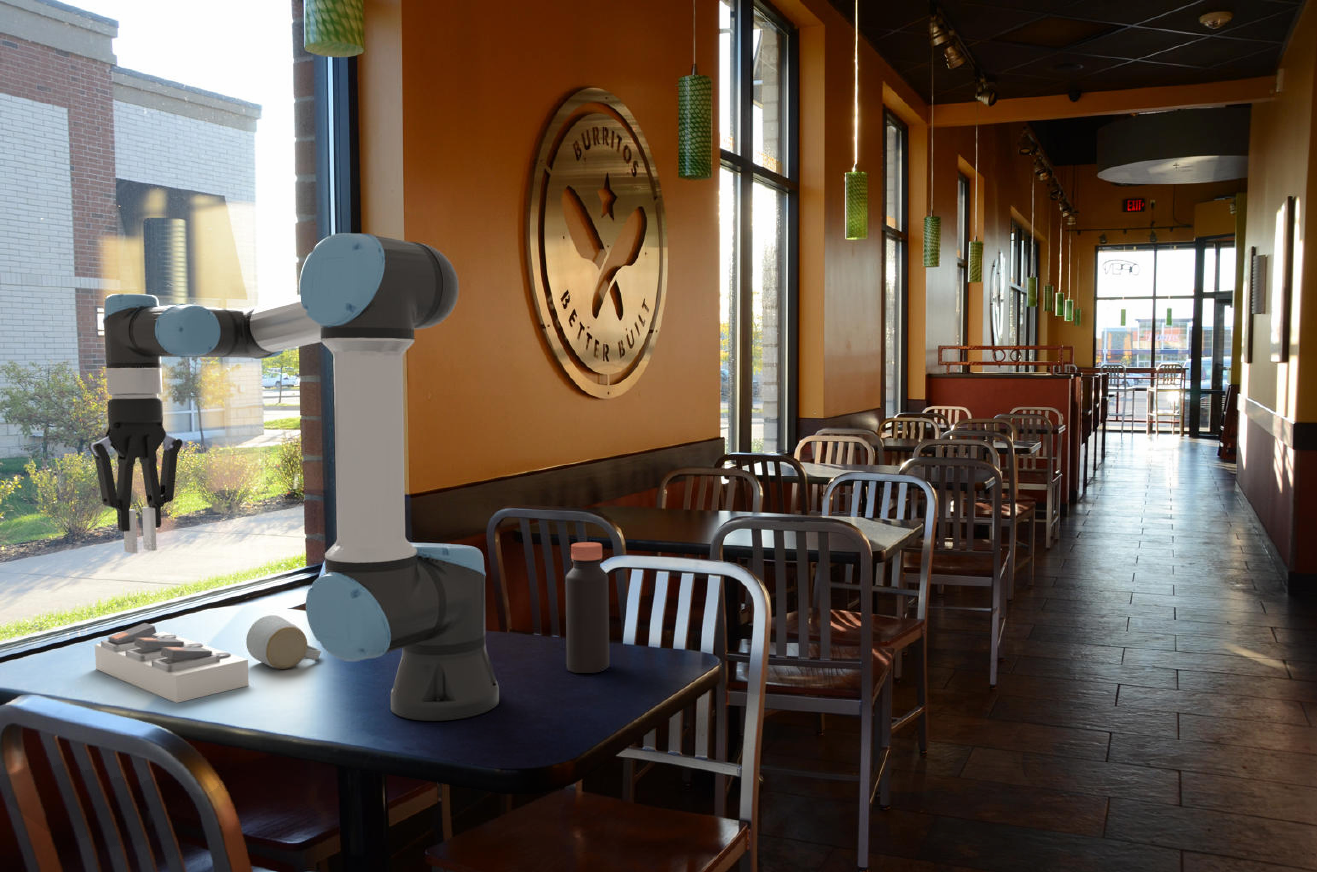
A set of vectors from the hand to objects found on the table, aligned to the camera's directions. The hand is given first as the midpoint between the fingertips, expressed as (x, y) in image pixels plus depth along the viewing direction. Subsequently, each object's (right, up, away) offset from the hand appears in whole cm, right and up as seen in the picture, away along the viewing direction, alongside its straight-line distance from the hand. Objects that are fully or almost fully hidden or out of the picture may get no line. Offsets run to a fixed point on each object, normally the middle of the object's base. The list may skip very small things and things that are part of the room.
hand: (140, 550), depth 161 cm
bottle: (+68, -20, +7) cm, 71 cm away
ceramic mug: (+18, -20, +12) cm, 29 cm away
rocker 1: (-5, -15, +8) cm, 18 cm away
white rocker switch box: (+3, -20, +4) cm, 21 cm away
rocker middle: (+2, -15, +3) cm, 16 cm away
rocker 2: (+8, -16, -3) cm, 18 cm away
